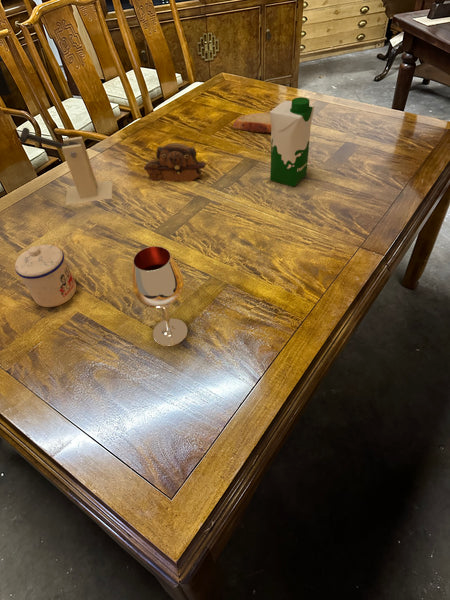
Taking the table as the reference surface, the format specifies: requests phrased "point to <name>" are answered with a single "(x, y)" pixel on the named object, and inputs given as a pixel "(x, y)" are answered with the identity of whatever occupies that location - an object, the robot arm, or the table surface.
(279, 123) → the milk carton
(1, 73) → the robot arm
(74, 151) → the tan upright plank
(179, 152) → the wooden carving
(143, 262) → the wineglass
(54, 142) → the lever
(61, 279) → the teacup with lid
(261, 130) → the slice of bread
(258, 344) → the table surface
